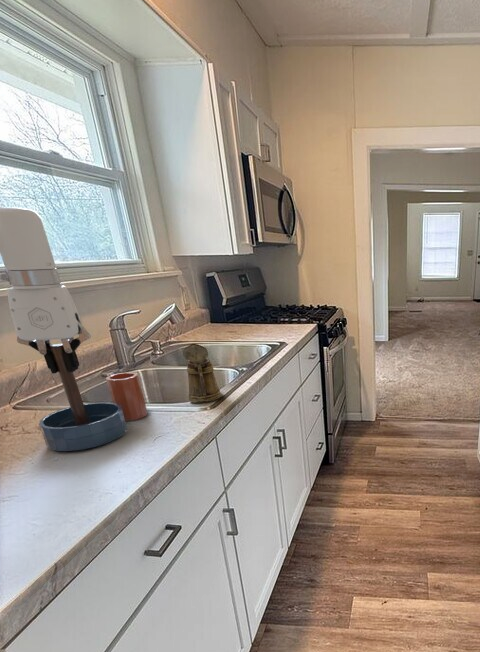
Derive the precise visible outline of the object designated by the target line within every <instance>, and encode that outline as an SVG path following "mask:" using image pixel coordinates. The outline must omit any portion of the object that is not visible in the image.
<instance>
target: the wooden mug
mask: <svg viewBox="0 0 480 652" xmlns="http://www.w3.org/2000/svg"><path fill="white" fill-rule="evenodd" d="M182 355H183V357H184V358H185V360H187V365H186V373H187V379H188V380H187V381H188V394H187V396H188V398H187V399H188V401H189V402H190V403H195V404H205V403H210V402H214V401H217V400H219V399H220V398H221V397H222V393H221V390H220V388H219V386H218V383H217V380H216V377H215V373H214V371H215V369H214V366H213V364H212V363H211V360H210V359H209V358H208V357H209V351H208V349H207V348H206V347H205V346H203V345H200V344H197V343H191V344H189V345H187V346H186V347H185V348H184V349H183V350H182Z"/></svg>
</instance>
